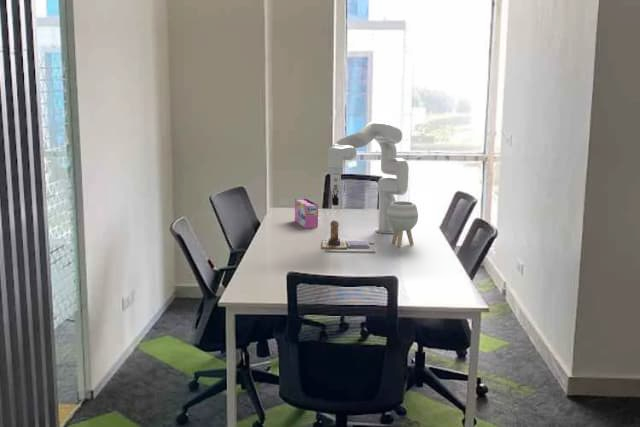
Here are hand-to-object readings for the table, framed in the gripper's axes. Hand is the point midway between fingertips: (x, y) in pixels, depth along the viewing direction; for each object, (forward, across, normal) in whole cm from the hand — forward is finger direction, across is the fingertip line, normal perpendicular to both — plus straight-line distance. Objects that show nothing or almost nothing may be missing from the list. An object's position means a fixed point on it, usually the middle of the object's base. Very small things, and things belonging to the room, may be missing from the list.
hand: (335, 203), depth 363 cm
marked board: (+22, 0, 0) cm, 22 cm away
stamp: (+21, 0, 0) cm, 21 cm away
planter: (+22, +3, -35) cm, 42 cm away
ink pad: (+22, 0, -12) cm, 26 cm away
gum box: (+23, +54, +16) cm, 61 cm away
